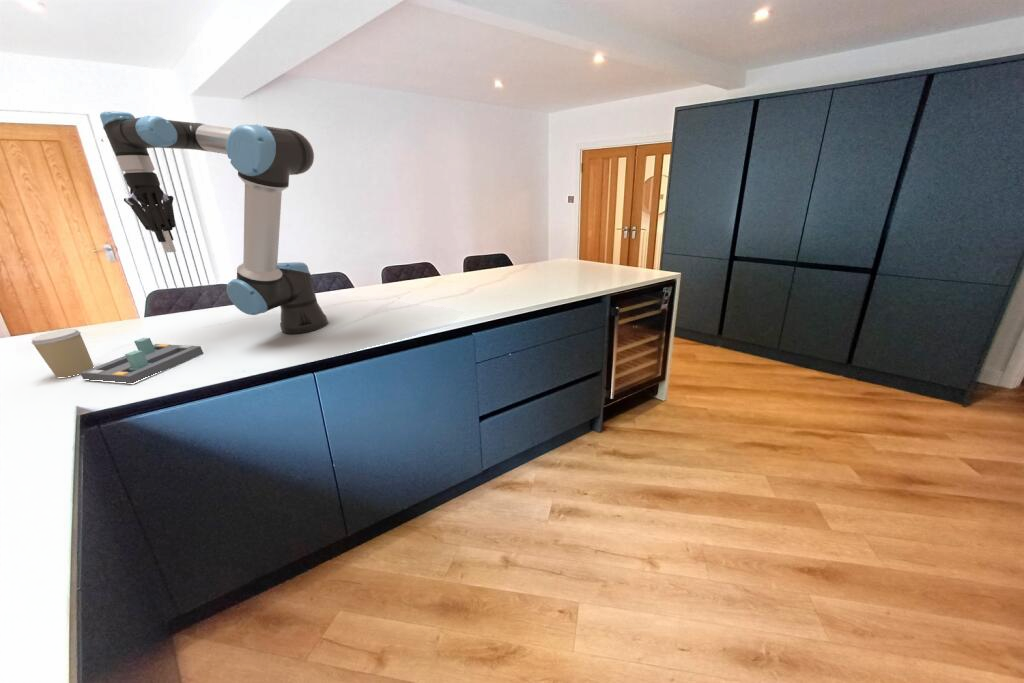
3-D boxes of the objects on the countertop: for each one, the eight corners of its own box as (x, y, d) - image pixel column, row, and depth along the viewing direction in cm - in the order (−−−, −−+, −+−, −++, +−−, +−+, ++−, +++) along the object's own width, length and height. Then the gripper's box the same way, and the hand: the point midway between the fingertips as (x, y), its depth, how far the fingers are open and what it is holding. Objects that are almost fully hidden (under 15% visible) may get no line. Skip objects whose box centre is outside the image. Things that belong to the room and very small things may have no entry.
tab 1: (160, 353, 120) (152, 337, 118) (146, 358, 116) (138, 342, 114) (152, 352, 120) (145, 336, 118) (138, 358, 117) (130, 342, 115)
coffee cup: (74, 366, 117) (53, 329, 112) (106, 363, 117) (87, 327, 113) (42, 381, 108) (18, 342, 104) (77, 378, 109) (56, 339, 104)
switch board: (203, 353, 121) (200, 345, 120) (133, 384, 103) (129, 375, 102) (159, 351, 125) (155, 343, 124) (84, 380, 107) (79, 372, 106)
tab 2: (153, 367, 110) (145, 349, 108) (138, 373, 107) (129, 355, 105) (145, 366, 111) (137, 349, 109) (130, 372, 107) (121, 355, 105)
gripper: (152, 172, 122) (181, 248, 131) (104, 172, 110) (140, 255, 120) (170, 171, 120) (198, 248, 129) (124, 171, 109) (158, 255, 118)
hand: (170, 251), depth 124 cm, fingers closed
